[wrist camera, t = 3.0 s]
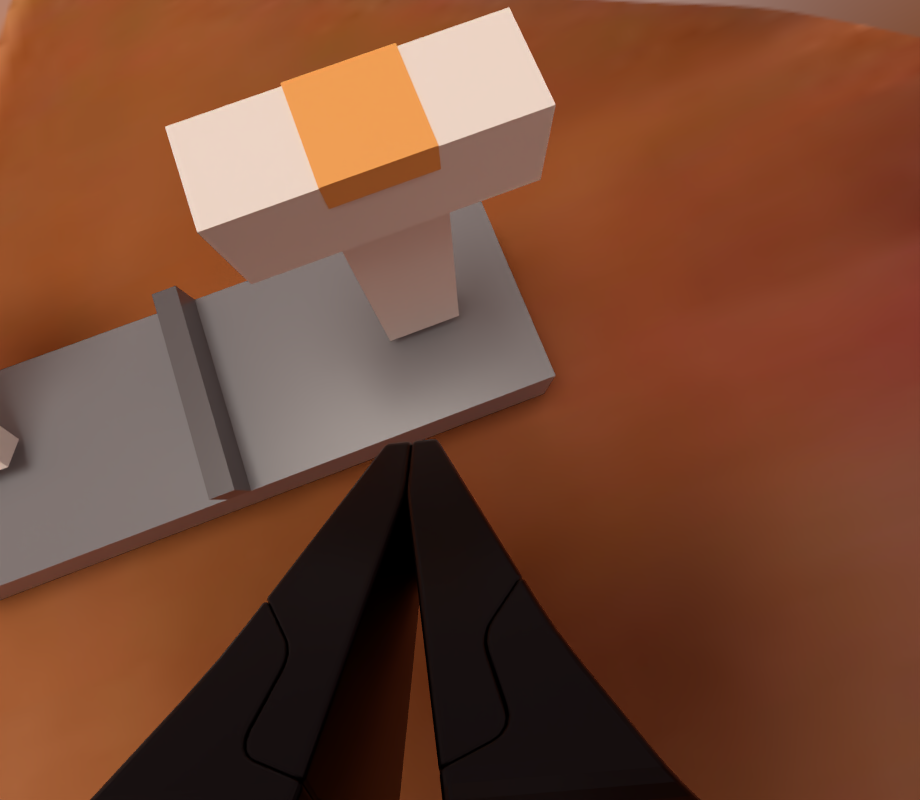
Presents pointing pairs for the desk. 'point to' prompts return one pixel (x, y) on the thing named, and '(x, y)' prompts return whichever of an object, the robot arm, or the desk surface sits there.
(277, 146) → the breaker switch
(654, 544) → the desk surface
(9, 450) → the switch
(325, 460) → the grey ridged base plate
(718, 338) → the desk surface
